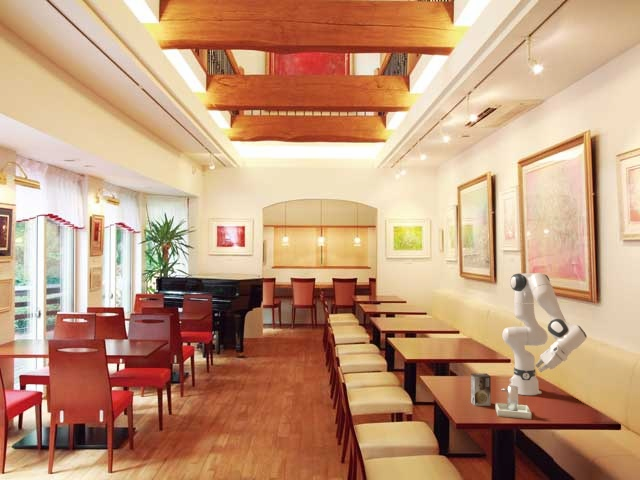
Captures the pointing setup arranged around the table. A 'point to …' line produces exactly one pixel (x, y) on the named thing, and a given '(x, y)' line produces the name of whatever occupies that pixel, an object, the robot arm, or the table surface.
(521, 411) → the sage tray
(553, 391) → the table surface
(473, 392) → the coffee box
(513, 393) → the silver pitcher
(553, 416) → the table surface
